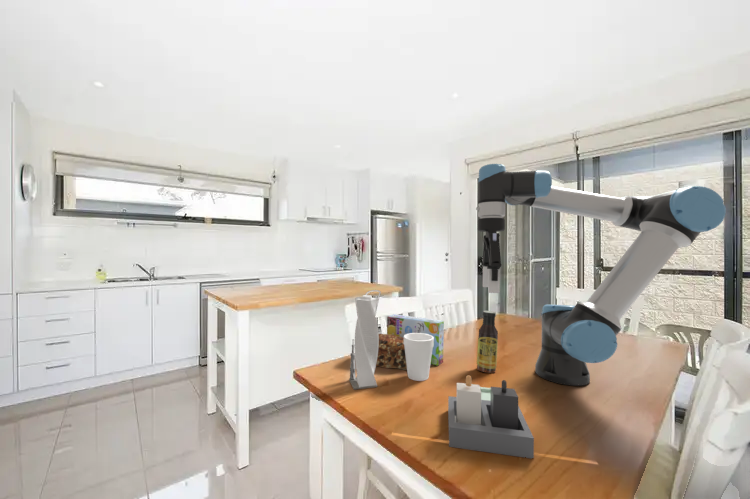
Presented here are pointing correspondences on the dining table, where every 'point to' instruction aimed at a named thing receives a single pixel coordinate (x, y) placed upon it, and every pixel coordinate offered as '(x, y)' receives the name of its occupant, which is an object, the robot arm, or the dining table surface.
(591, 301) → the robot arm
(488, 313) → the sauce bottle
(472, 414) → the white block with knob
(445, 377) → the dining table surface
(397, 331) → the snack box
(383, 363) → the bread
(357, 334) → the skyscraper
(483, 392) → the tray
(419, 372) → the foam cup
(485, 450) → the grey desk organizer
